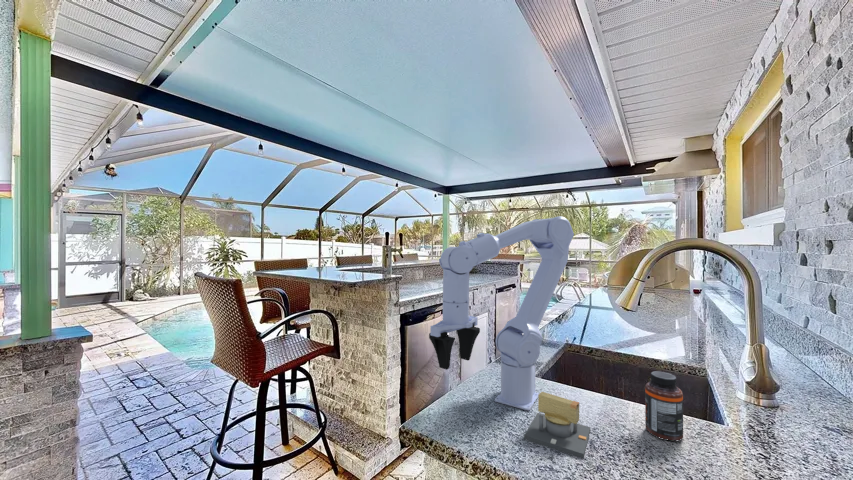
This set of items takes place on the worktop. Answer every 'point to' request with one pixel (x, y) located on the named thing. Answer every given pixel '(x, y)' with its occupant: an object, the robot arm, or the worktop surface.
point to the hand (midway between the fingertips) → (455, 363)
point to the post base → (562, 442)
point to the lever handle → (558, 409)
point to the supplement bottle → (664, 406)
